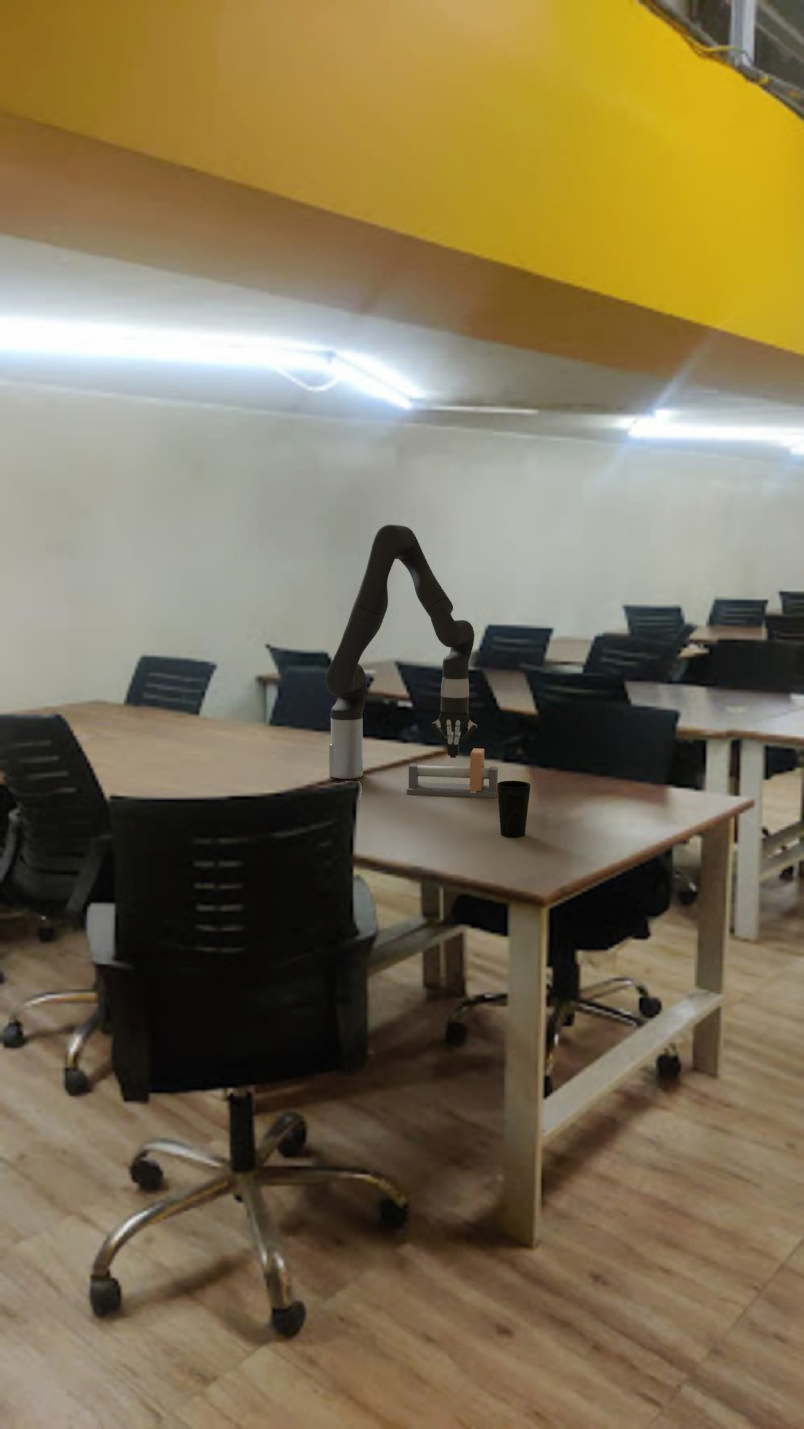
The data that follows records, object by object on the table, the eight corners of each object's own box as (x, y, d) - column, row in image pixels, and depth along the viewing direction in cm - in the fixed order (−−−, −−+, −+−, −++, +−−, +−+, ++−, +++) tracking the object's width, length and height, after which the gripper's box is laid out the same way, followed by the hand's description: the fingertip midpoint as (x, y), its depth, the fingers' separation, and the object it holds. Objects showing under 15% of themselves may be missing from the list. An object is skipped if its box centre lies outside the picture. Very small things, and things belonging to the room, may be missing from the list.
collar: (469, 790, 276) (470, 754, 274) (472, 783, 283) (473, 748, 282) (480, 791, 275) (481, 754, 274) (483, 784, 283) (484, 748, 281)
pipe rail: (406, 794, 278) (406, 768, 277) (412, 785, 288) (412, 761, 286) (495, 797, 274) (495, 771, 273) (498, 789, 283) (498, 764, 282)
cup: (493, 830, 242) (494, 780, 240) (525, 829, 243) (526, 780, 241) (499, 839, 234) (500, 788, 232) (532, 838, 235) (533, 787, 233)
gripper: (428, 695, 274) (427, 758, 277) (477, 697, 272) (476, 761, 275) (432, 691, 281) (431, 753, 284) (480, 693, 279) (478, 755, 282)
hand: (453, 757), depth 279 cm, fingers closed
